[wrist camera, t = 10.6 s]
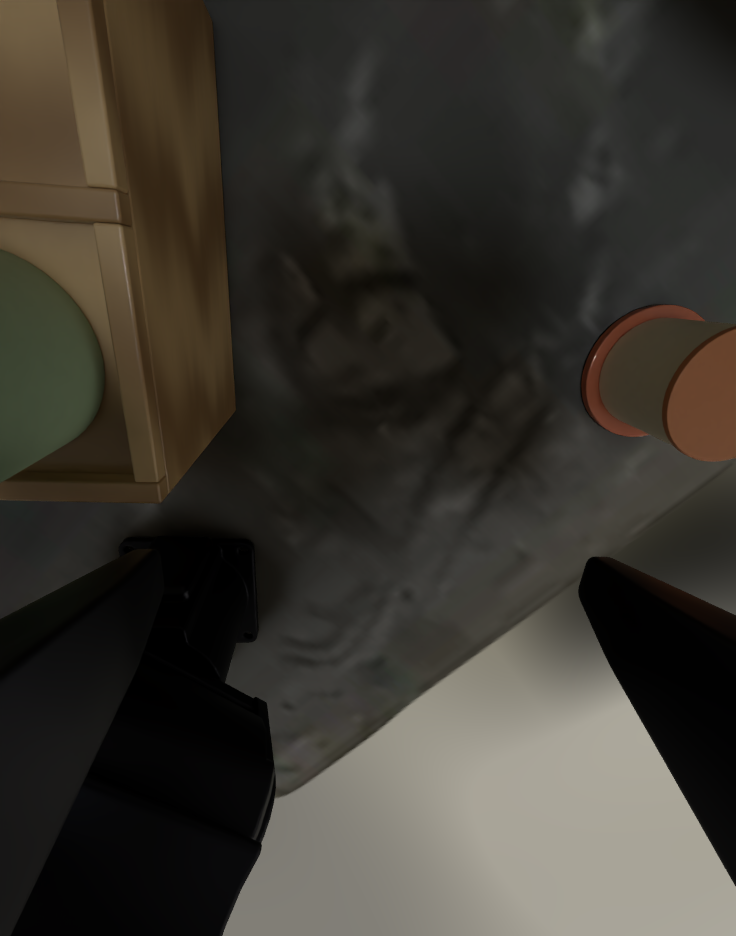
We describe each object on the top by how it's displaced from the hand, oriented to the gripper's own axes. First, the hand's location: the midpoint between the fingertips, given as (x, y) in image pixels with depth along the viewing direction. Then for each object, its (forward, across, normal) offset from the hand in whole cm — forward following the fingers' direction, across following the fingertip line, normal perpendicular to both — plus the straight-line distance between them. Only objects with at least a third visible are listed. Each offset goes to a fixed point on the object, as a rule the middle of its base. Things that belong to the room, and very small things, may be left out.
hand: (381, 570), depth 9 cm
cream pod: (+11, -13, -3) cm, 18 cm away
